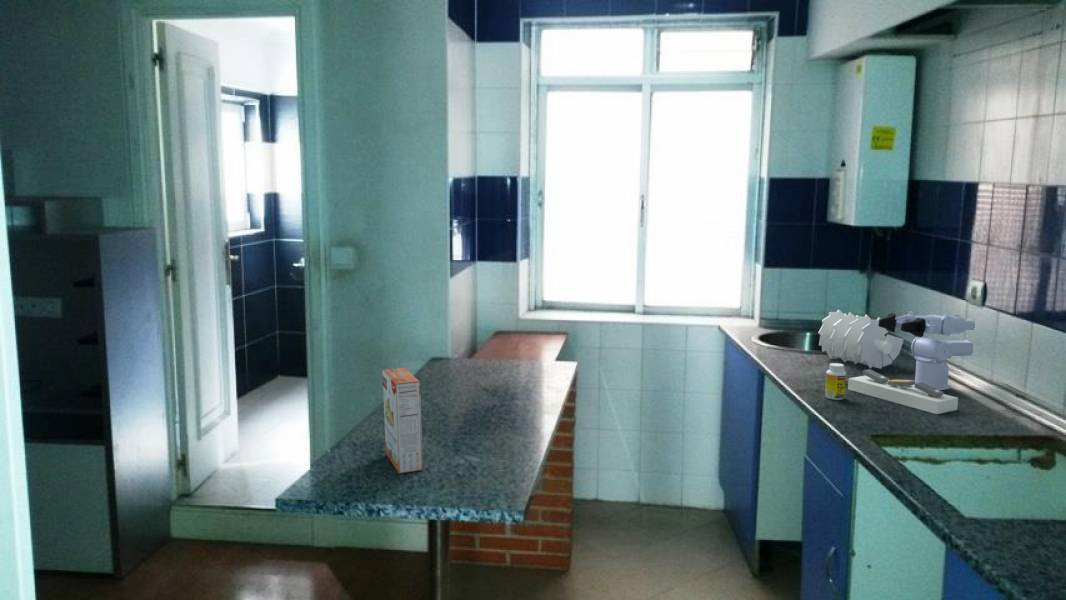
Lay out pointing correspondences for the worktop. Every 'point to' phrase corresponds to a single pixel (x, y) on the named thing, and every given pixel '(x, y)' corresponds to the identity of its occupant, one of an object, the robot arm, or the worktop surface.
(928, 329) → the robot arm
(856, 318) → the white ribbed cylinder
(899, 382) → the orange flat bar
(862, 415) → the worktop surface
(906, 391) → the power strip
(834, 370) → the supplement bottle
